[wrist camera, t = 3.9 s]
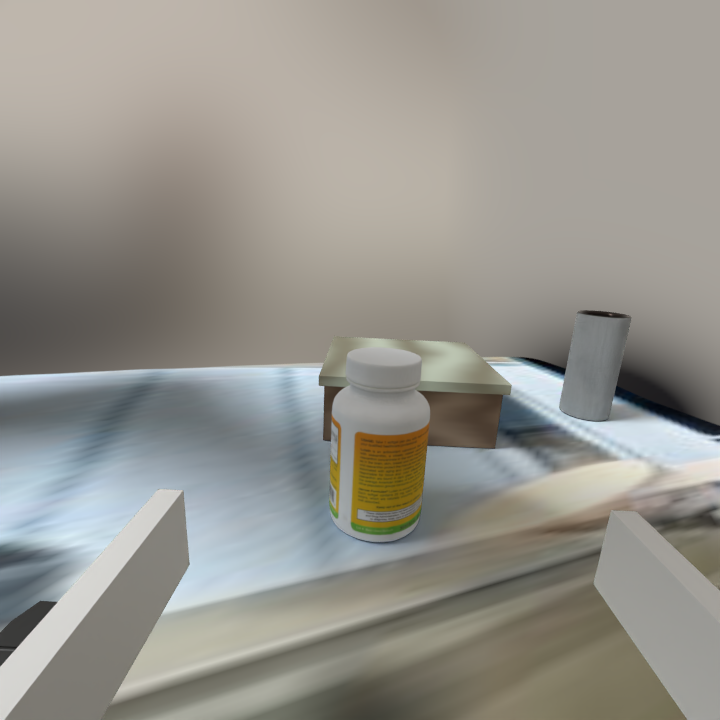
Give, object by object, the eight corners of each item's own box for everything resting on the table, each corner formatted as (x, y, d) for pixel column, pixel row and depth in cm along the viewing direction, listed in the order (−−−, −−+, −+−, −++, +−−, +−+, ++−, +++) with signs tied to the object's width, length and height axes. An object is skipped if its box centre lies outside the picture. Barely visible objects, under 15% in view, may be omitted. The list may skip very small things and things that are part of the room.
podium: (317, 441, 32) (319, 375, 30) (332, 383, 46) (334, 336, 44) (501, 451, 32) (511, 385, 30) (459, 389, 46) (464, 342, 44)
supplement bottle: (437, 513, 24) (455, 357, 21) (381, 562, 20) (395, 377, 17) (369, 477, 27) (377, 339, 24) (309, 513, 23) (312, 352, 20)
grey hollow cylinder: (593, 405, 43) (613, 311, 40) (618, 422, 38) (643, 318, 36) (551, 403, 43) (568, 309, 40) (571, 420, 38) (592, 316, 36)
